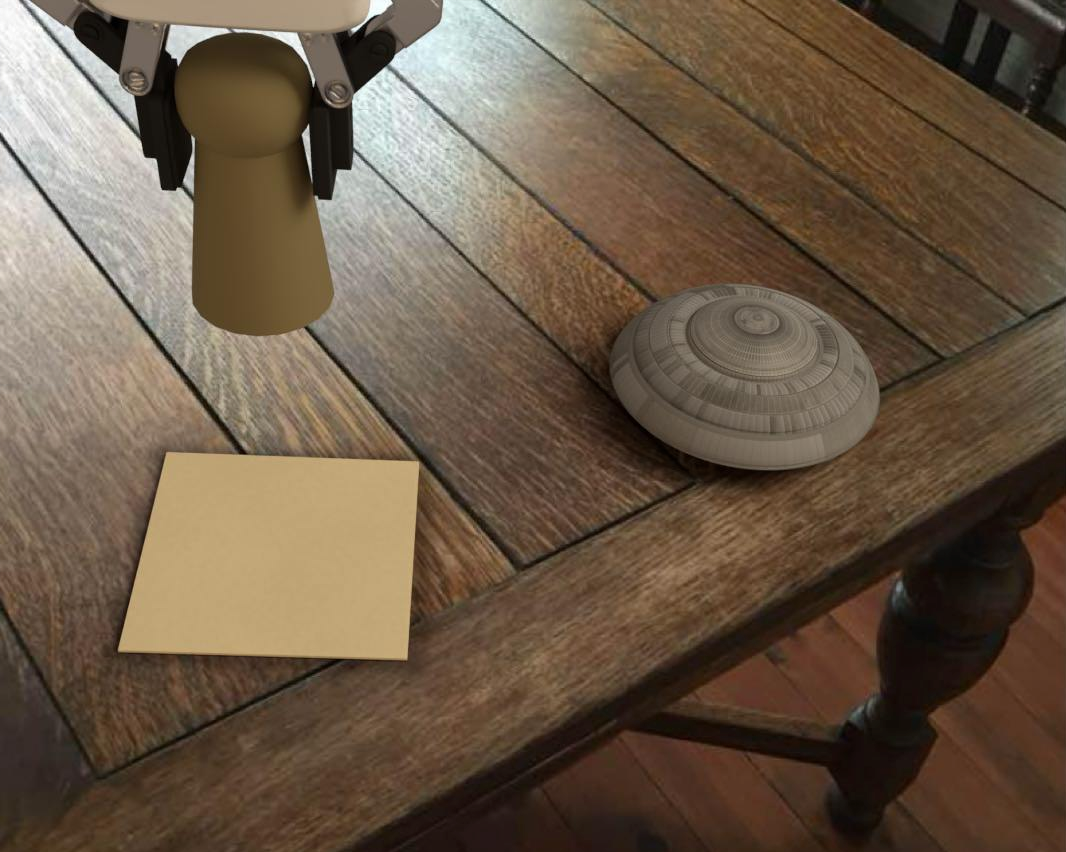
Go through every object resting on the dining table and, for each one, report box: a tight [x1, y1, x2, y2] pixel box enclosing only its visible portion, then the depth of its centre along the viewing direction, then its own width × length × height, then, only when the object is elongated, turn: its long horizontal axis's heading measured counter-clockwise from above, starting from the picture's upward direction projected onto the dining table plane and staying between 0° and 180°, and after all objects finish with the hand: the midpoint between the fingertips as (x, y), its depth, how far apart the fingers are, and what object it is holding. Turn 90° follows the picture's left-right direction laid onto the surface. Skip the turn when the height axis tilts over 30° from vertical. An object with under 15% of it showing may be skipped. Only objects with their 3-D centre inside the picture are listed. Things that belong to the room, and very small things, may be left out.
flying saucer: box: [609, 283, 881, 471], centre depth 74 cm, size 15×15×6 cm
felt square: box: [117, 451, 420, 661], centre depth 66 cm, size 13×13×1 cm
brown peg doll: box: [174, 31, 336, 337], centre depth 54 cm, size 6×6×11 cm
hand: (251, 172), depth 54 cm, fingers closed on brown peg doll, 5 cm apart
